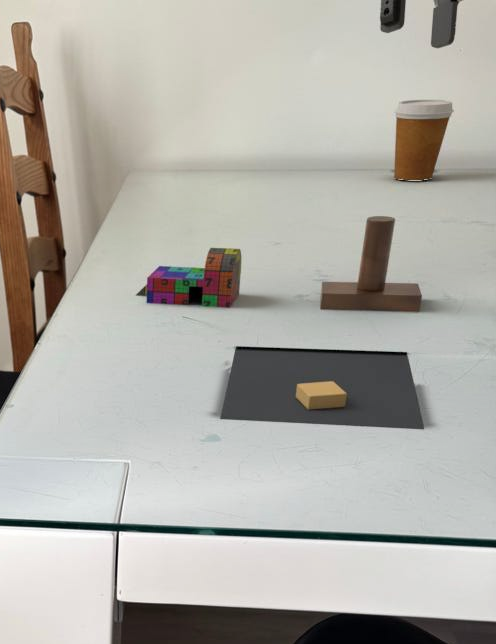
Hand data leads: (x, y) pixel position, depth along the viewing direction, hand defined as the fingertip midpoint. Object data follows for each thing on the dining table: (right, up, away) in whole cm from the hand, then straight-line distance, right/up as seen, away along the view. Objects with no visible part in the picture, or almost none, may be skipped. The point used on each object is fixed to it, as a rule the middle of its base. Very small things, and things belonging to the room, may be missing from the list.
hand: (417, 38), depth 100 cm
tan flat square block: (-14, -40, -15) cm, 45 cm away
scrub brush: (-2, -25, +9) cm, 27 cm away
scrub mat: (-13, -38, -10) cm, 41 cm away
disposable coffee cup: (+30, +21, +77) cm, 85 cm away
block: (-21, -22, +15) cm, 34 cm away
